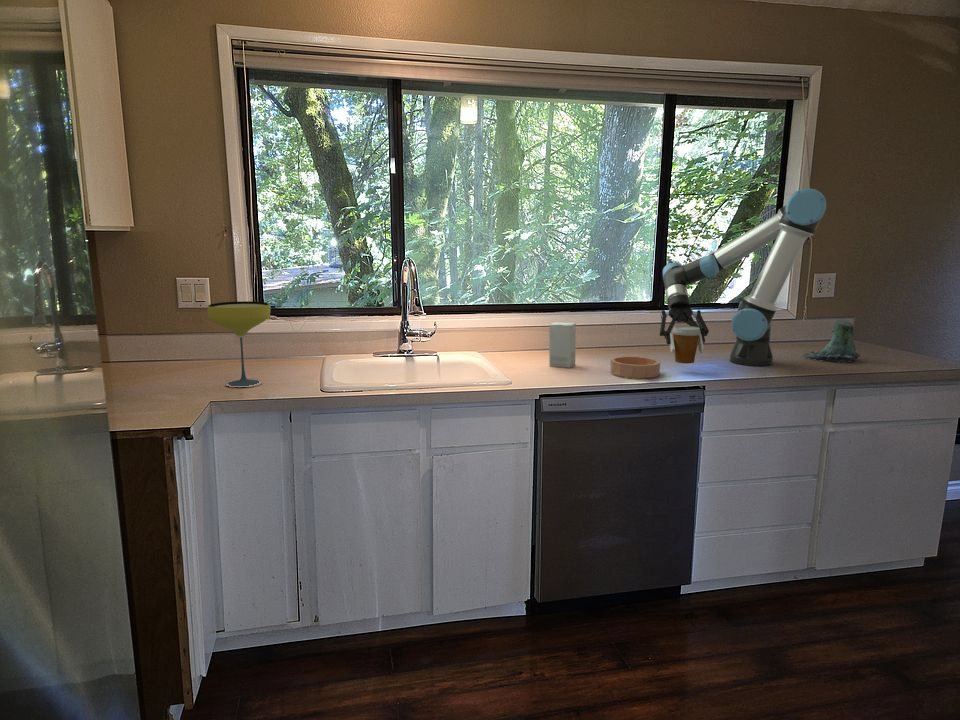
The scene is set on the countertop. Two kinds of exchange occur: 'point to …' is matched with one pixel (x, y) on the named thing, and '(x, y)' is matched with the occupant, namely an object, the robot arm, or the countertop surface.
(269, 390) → the countertop surface
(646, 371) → the terracotta dish
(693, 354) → the disposable coffee cup
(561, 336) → the skincare box
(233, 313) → the cocktail glass
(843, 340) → the tree stump
